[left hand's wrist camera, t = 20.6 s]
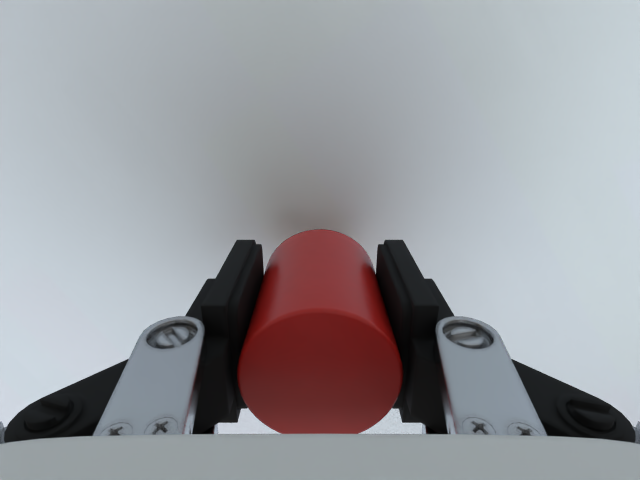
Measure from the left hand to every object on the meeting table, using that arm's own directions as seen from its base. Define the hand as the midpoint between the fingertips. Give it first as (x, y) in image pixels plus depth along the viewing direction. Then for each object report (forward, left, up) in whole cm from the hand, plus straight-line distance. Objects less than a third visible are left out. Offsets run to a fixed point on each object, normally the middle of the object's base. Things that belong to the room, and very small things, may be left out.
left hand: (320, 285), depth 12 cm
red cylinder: (0, 0, 0) cm, 0 cm away
